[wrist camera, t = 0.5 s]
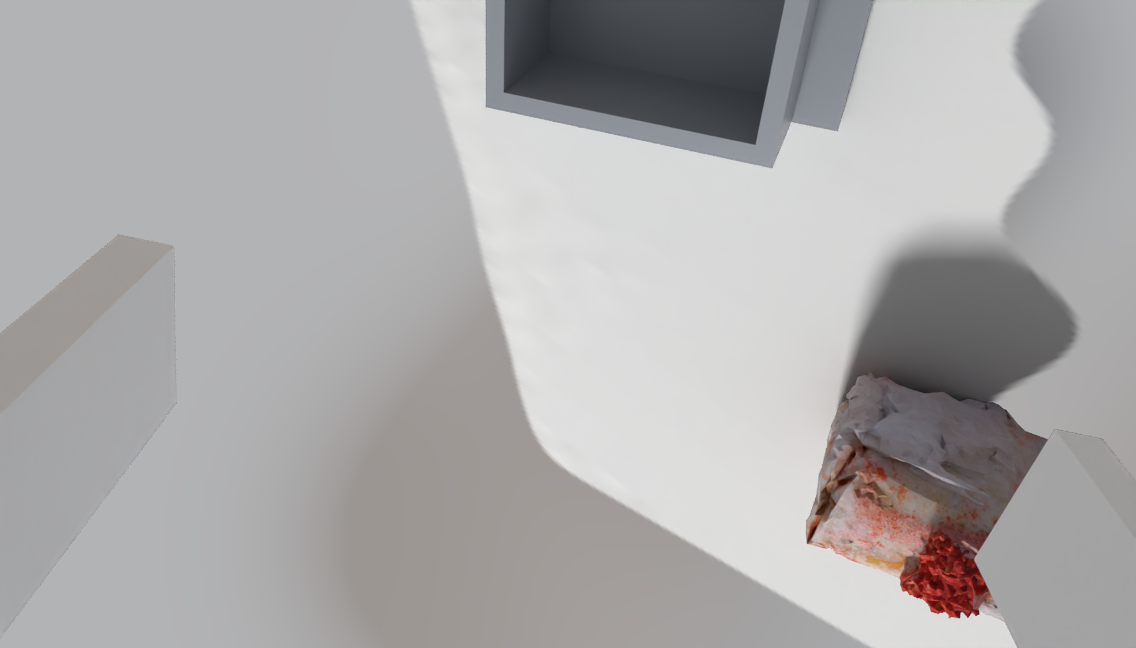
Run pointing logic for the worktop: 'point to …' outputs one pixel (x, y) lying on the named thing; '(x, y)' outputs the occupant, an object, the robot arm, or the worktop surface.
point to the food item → (919, 488)
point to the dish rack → (677, 68)
